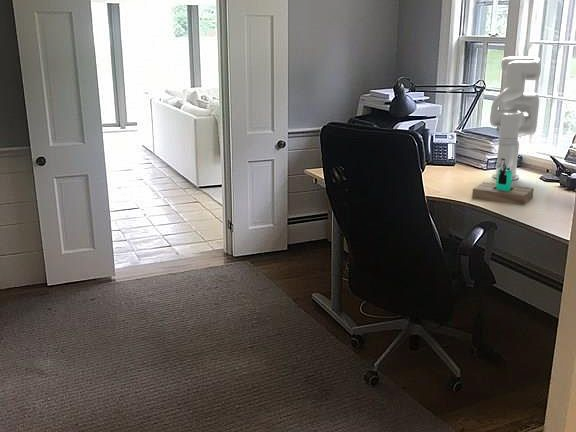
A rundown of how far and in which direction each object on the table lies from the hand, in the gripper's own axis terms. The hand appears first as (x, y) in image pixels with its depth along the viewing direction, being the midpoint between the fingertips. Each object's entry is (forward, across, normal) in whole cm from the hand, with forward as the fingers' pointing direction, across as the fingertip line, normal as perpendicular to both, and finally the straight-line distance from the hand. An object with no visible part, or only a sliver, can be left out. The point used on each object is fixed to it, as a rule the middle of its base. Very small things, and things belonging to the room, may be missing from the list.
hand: (503, 182), depth 268 cm
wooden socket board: (+7, 0, 0) cm, 7 cm away
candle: (+6, 0, 0) cm, 6 cm away
